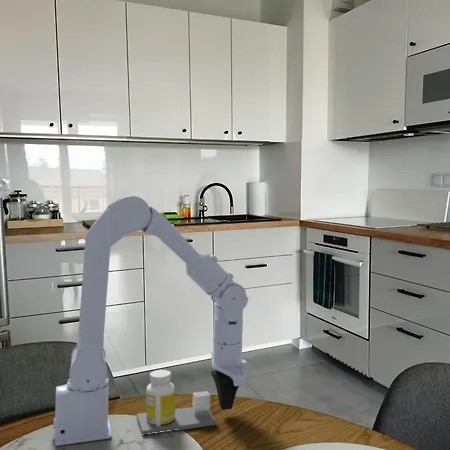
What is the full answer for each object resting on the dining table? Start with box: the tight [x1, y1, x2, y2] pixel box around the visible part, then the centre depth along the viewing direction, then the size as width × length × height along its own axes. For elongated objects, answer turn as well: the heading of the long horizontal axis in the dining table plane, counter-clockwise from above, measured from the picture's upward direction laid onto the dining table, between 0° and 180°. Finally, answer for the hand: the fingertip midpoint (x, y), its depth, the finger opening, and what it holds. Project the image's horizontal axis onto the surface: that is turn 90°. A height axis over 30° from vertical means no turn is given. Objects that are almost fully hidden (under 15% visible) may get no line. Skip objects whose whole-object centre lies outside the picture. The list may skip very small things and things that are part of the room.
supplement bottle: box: [145, 369, 176, 426], centre depth 86 cm, size 5×5×10 cm
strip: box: [136, 390, 217, 435], centre depth 87 cm, size 14×7×5 cm, turn 109°
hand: (226, 407), depth 90 cm, fingers closed
